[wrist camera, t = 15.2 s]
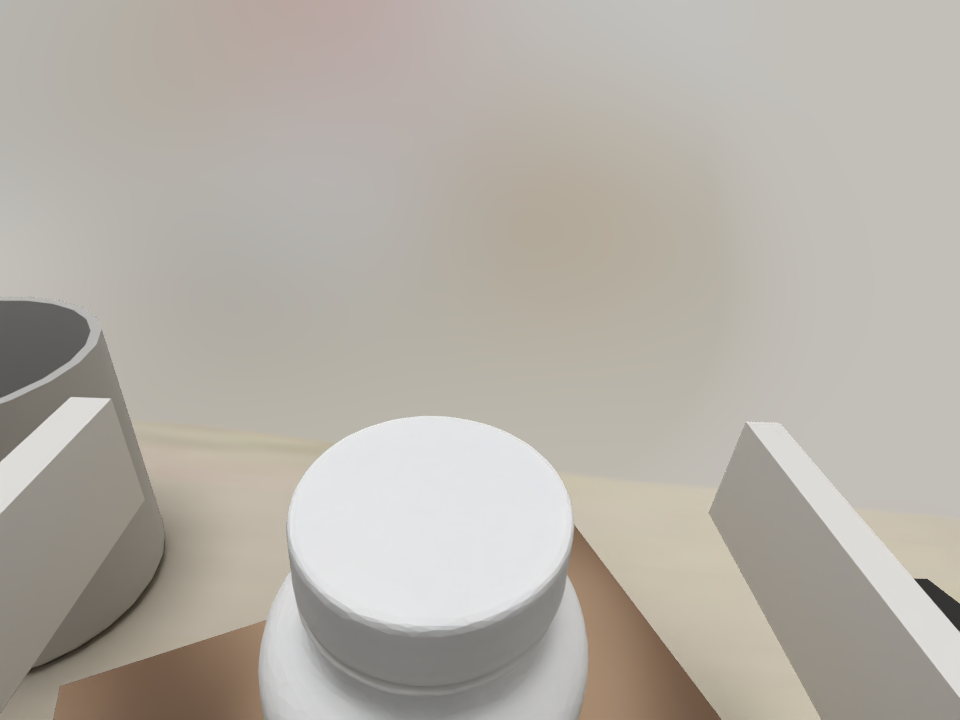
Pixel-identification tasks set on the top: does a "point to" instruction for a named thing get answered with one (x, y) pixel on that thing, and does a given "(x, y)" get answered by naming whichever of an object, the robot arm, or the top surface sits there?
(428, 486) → the supplement bottle
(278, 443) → the top surface
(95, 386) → the cup
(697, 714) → the walnut board
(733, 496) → the robot arm
